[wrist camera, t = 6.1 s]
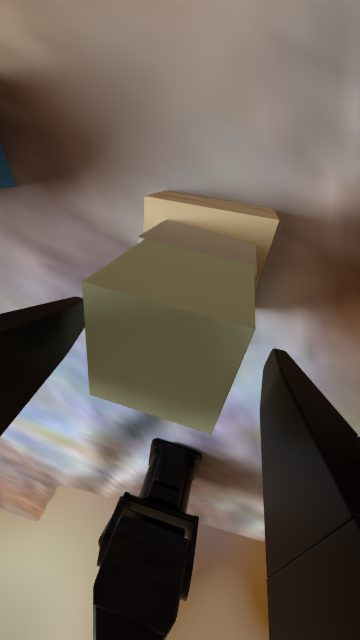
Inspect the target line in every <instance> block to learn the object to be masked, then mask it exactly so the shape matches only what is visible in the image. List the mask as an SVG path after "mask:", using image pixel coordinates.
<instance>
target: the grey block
mask: <svg viewBox="0 0 360 640" xmlns="http://www.w3.org/2000/svg"><path fill="white" fill-rule="evenodd" d="M144 239H146V240H151V241H155V242H159V243H163V244H167V245H171V246H175V247H179V248H183V249H188V250H192V251H196V252H200V253H204V254H208V255H212V256H216V257H220V258H224V259H229V260H233V261H237V262H241V263H245V264H249V265H253V266H254V279H255V276H256V274H257V259H256V245H253V244H250V243H246V242H243V241H239V240H236V239H233V238H229V237H226V236H222V235H219V234H215V233H212V232H208V231H205V230H201V229H198V228H194V227H191V226H188V225H184V224H181V223H177V222H174V221H170V220H167V219H166V220H164V221H163V222H161V223H159V224H158V225H156V226H155V227H153V228H151V229H150V230H148V231H147V232H145V233H143V234H142V235H140V236H139V237H138V241H137V244H138V243H140V242H141V241H143V240H144Z"/></svg>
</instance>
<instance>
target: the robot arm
mask: <svg viewBox="0 0 360 640" xmlns="http://www.w3.org/2000/svg"><path fill="white" fill-rule="evenodd" d="M84 327H85V318H84V303H83V298H80V297H71V298H67V299H62V300H58V301H54V302H49V303H45V304H41V305H36V306H32V307H28V308H24V309H19V310H15V311H11V312H6V313H2V314H0V436H1V435H2V434H3V433H4V431H5V430H6V429H7V428H8V426H9V425H10V424H11V423H12V421H13V420H14V419H15V418H16V417H17V415H18V414H19V413H20V412H21V410H22V409H23V408H24V407H25V405H26V404H27V403H28V402H29V401H30V399H31V398H32V397H33V396H34V394H35V393H36V392H37V391H38V389H39V388H40V387H41V386H42V385H43V383H44V382H45V381H46V380H47V378H48V377H49V376H50V375H51V373H52V372H53V371H54V370H55V369H56V367H57V366H58V365H59V364H60V362H61V361H62V360H63V359H64V357H65V356H66V355H67V353H68V352H69V351H70V349H71V348H72V346H73V345H74V343H75V341H76V340H77V338H78V337H79V335H80V334H81V332H82V330H83V329H84ZM260 429H261V452H262V475H263V498H264V521H265V544H266V565H267V578H268V579H267V594H268V618H269V640H360V437H357V436H358V434H357V433H356V432H355V431H354V430H353V429H352V427H351V426H350V425H349V424H348V423H347V422H346V420H345V419H344V418H343V417H342V416H341V415H340V413H339V412H338V411H337V410H336V409H335V408H334V407H333V405H332V404H331V403H330V402H329V401H328V400H327V398H326V397H325V396H324V395H323V394H322V393H321V391H320V390H319V389H318V388H317V387H316V386H315V385H314V383H313V382H312V381H311V380H310V379H309V378H308V376H307V375H306V374H305V373H304V372H303V371H302V370H301V368H300V367H299V366H298V365H297V364H296V363H295V361H294V360H293V359H292V358H291V357H290V356H289V354H288V353H287V352H286V351H283V350H279V349H275V348H274V349H272V351H271V353H270V355H269V357H268V359H267V361H266V363H265V366H264V369H263V378H262V390H261V402H260ZM201 459H202V455H201V454H200V453H197V452H194V451H191V450H188V449H185V448H182V447H179V446H176V445H173V444H170V443H167V442H164V441H161V440H157V439H153V440H152V444H151V451H150V458H149V468H148V471H147V474H146V477H145V480H144V482H143V485H142V488H141V491H140V494H139V497H137V496H134V495H131V494H130V493H128V492H125V493H124V496H121V497H120V498H119V501H118V503H117V506H116V509H115V511H114V513H113V515H112V517H111V518H110V520H109V522H108V524H107V525H106V527H105V529H104V531H103V532H102V534H101V536H100V538H99V541H98V543H99V547H100V551H99V556H98V561H97V566H99V567H100V569H99V572H98V574H97V577H96V580H95V583H94V587H93V632H94V633H93V640H165V639H166V637H167V636H168V634H169V632H170V631H171V629H172V627H173V625H174V623H175V621H176V617H177V612H178V607H179V600H180V599H182V600H184V601H186V600H187V596H188V592H189V587H190V582H191V576H192V570H193V563H194V562H193V561H194V555H195V546H196V537H197V529H198V521H199V517H198V516H195V515H194V516H192V515H189V514H186V511H187V505H188V500H189V495H190V490H191V484H192V481H193V480H194V478H195V475H196V473H197V470H198V467H199V465H200V462H201ZM185 536H186V537H188V538H184V537H185Z"/></svg>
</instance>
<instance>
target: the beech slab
mask: <svg viewBox="0 0 360 640" xmlns="http://www.w3.org/2000/svg"><path fill="white" fill-rule="evenodd" d="M166 219H167V220H170V221H174V222H177V223H181V224H184V225H188V226H191V227H194V228H198V229H201V230H205V231H208V232H212V233H215V234H219V235H222V236H226V237H229V238H233V239H236V240H239V241H243V242H246V243H250V244H253V245H256V259H257V274H256V276H255V279H254V289H255V292H256V289H257V286H258V283H259V280H260V277H261V274H262V271H263V268H264V265H265V262H266V259H267V256H268V253H269V250H270V247H271V244H272V241H273V238H274V235H275V232H276V229H277V226H278V223H279V219H278V217H277V215H276V212H275V210H274V209H269V208H263V207H258V206H252V205H246V204H240V203H235V202H229V201H223V200H217V199H212V198H206V197H200V196H194V195H188V194H183V193H177V192H171V191H161V192H158V193H154V194H151V195H147V196H145V203H144V227H143V233H145V232H147V231H148V230H150V229H151V228H153V227H155V226H156V225H158V224H159V223H161V222H163V221H164V220H166Z"/></svg>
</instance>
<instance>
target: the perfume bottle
mask: <svg viewBox="0 0 360 640" xmlns="http://www.w3.org/2000/svg"><path fill="white" fill-rule="evenodd" d="M9 187H16V185H15V183H14V180H13V177H12V174H11V171H10V168H9V165H8V163H7V160H6V157H5V154H4V151H3V148H2V145H1V142H0V188H9Z"/></svg>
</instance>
